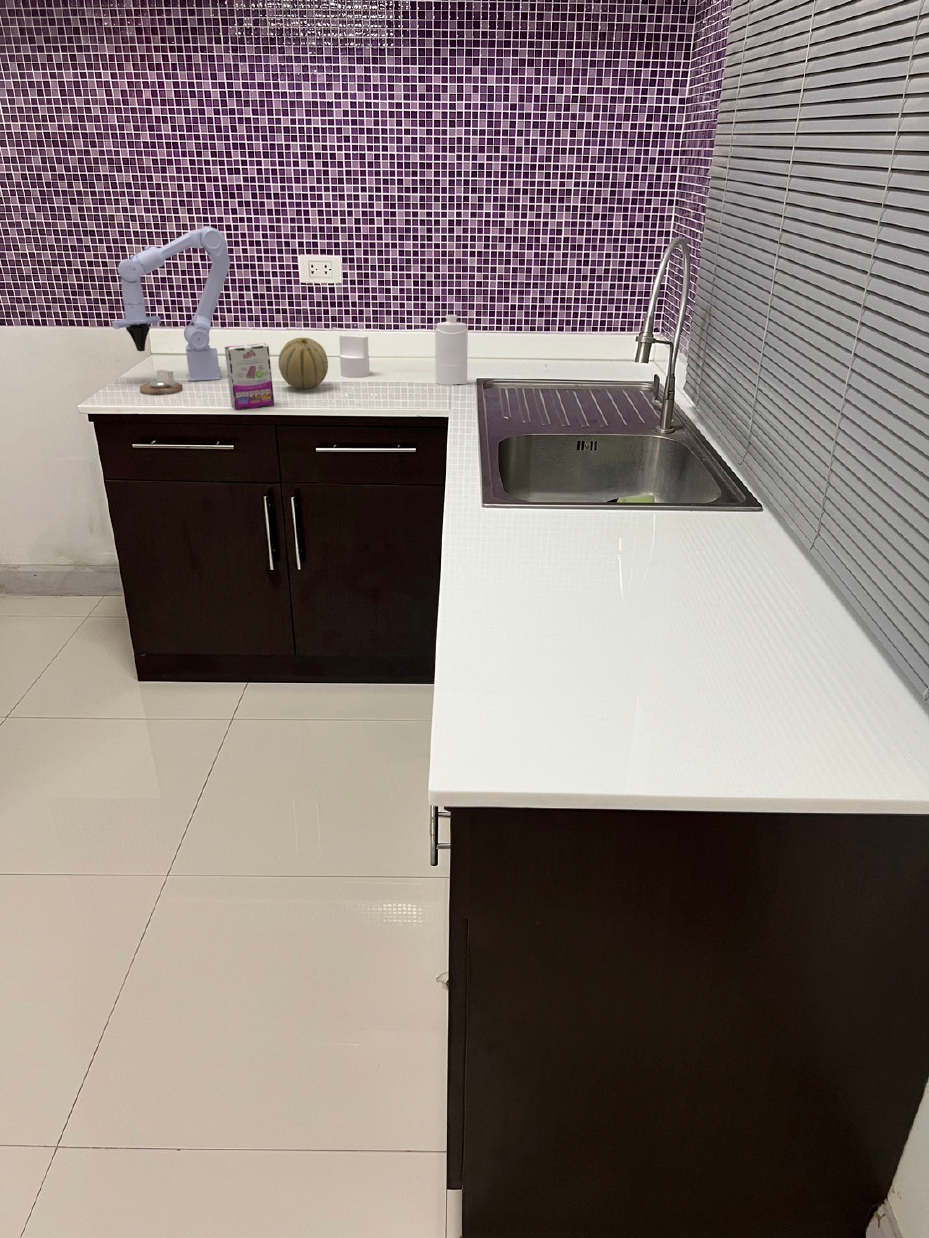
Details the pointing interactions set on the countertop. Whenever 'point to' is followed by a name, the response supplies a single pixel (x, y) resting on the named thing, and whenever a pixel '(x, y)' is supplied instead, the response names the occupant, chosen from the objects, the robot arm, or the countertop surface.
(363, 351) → the cylinder with rectangular tab
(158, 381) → the dial
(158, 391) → the base
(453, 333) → the squeeze bottle
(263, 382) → the candy bar box
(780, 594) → the countertop surface
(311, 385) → the cantaloupe
